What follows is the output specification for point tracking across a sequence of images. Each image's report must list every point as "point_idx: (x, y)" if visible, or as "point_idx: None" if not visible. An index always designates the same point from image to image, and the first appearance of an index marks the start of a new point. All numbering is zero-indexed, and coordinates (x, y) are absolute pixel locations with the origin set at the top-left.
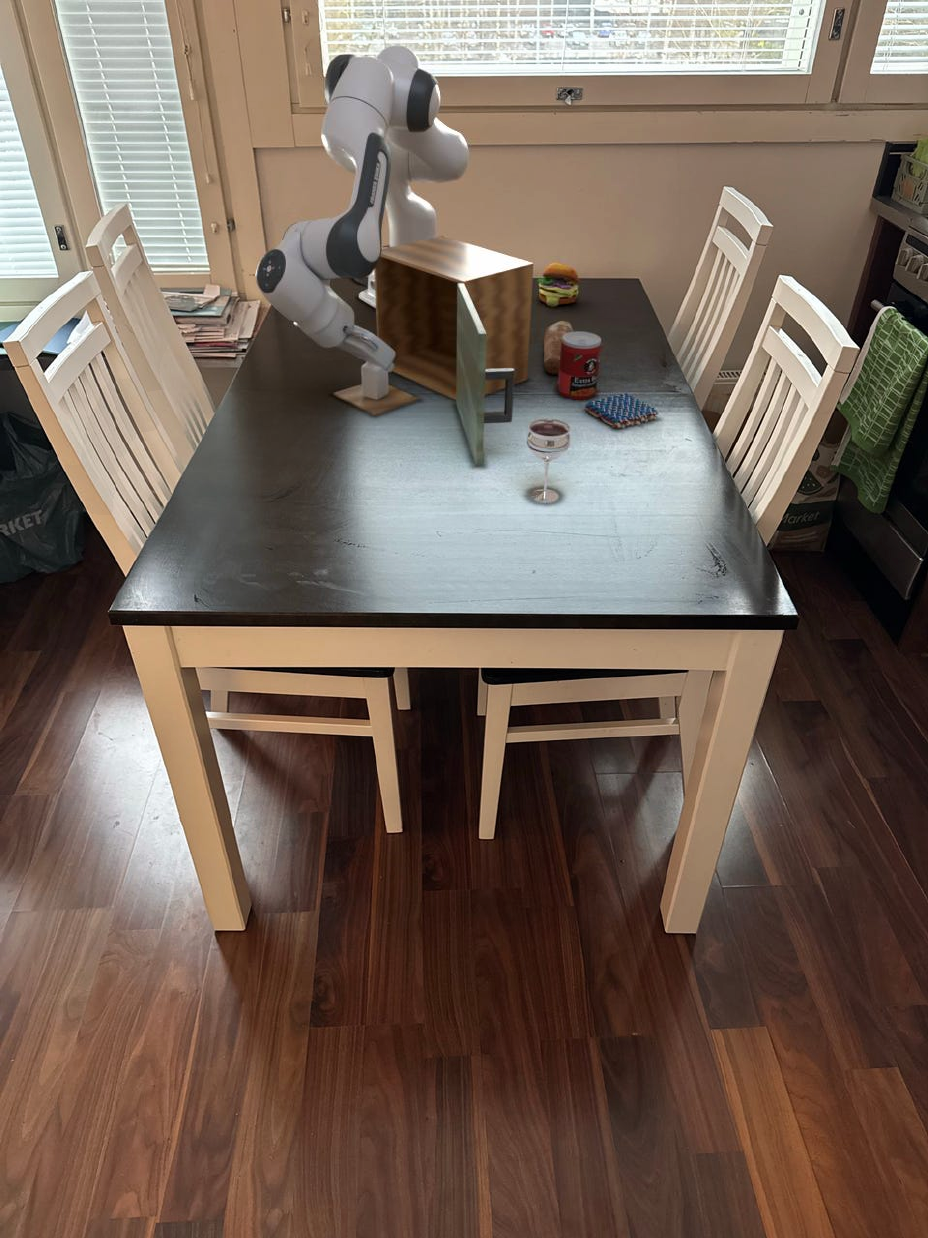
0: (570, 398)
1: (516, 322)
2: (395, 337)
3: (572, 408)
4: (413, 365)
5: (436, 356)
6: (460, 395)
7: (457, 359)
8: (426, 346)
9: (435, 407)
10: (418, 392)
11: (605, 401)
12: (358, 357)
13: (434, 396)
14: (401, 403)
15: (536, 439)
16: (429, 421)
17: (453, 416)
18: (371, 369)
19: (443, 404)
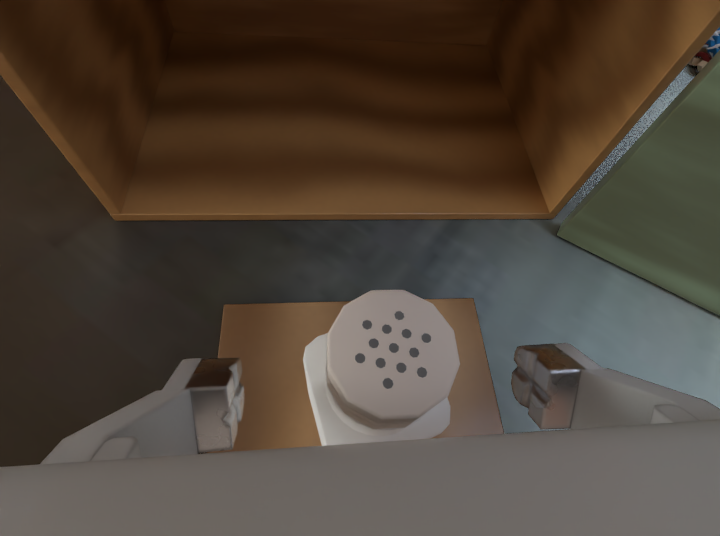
0: None
1: None
2: (101, 90)
3: (672, 81)
4: (230, 154)
5: (229, 82)
6: (717, 244)
7: (709, 118)
8: (161, 60)
9: (545, 293)
10: (407, 261)
11: (717, 35)
12: (241, 411)
13: (463, 244)
14: (485, 375)
15: None
16: (649, 380)
17: (633, 294)
18: (424, 438)
19: (533, 261)
